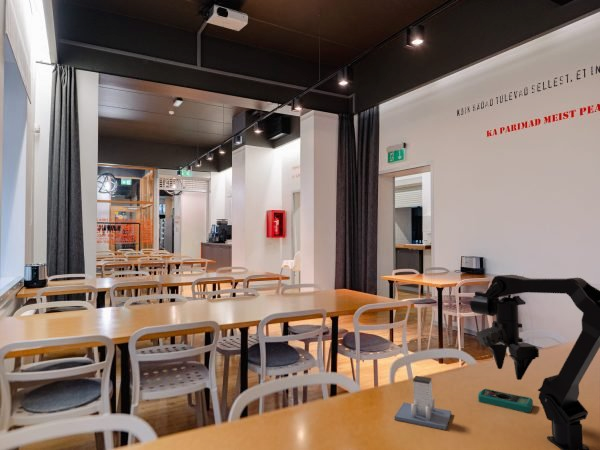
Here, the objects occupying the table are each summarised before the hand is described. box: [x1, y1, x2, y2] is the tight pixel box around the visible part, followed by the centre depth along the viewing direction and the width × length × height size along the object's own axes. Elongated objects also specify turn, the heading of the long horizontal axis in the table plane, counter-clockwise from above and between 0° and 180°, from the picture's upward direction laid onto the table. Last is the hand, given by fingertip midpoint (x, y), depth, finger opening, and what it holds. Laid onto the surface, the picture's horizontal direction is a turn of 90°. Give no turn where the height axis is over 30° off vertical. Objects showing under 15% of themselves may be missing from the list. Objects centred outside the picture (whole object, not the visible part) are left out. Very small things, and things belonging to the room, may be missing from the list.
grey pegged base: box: [394, 397, 452, 431], centre depth 115 cm, size 14×11×4 cm
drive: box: [412, 375, 433, 417], centre depth 115 cm, size 4×4×10 cm
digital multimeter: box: [477, 388, 534, 414], centre depth 124 cm, size 7×15×3 cm, turn 51°
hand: (509, 374), depth 113 cm, fingers open, 9 cm apart
